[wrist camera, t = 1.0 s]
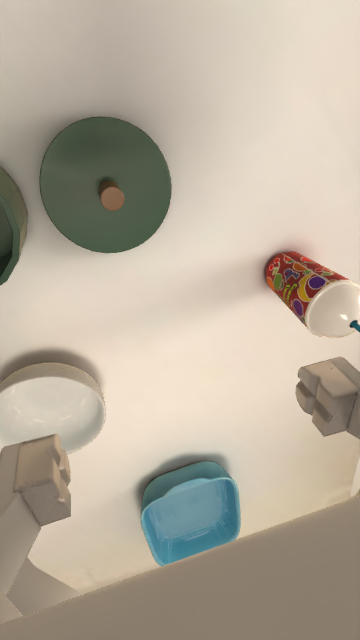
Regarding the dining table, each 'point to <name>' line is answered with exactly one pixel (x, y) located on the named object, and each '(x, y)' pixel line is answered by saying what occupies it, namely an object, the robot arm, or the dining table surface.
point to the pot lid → (105, 184)
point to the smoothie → (316, 295)
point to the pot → (10, 225)
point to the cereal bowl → (51, 406)
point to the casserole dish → (190, 511)
